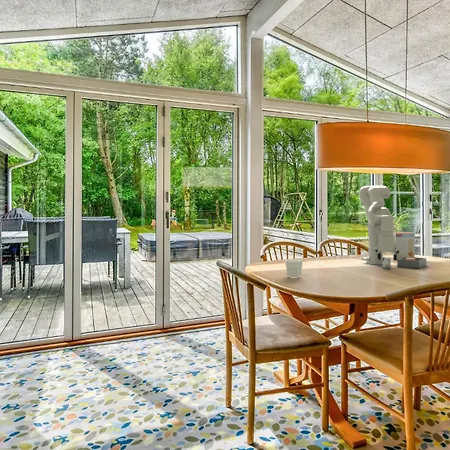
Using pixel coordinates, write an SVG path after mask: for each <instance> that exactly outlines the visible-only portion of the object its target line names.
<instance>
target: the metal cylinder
mask: <svg viewBox="0 0 450 450" xmlns="http://www.w3.org/2000/svg"><path fill="white" fill-rule="evenodd" d="M391 263H392V259H391V257H385V256H383V262H382V264H381V265H382V266H381V267H382V269H384V270H391V265H392V264H391Z"/></svg>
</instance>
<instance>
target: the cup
mask: <svg viewBox="0 0 450 450" xmlns="http://www.w3.org/2000/svg"><path fill="white" fill-rule="evenodd" d="M284 260H285V267H286V277H287V276H290V277H299V276H301V277H302V271H303V270H302V269H303V260H302V259H299V258H298V259H296V258H294V259H293V258H290V259H284Z"/></svg>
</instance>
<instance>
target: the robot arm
mask: <svg viewBox="0 0 450 450" xmlns="http://www.w3.org/2000/svg"><path fill="white" fill-rule="evenodd" d="M358 194H359V198H360V201H361V203H362V205H363V206H364V211H365V214H366V217H367V219H368V222H367V232H368V255H367V257H361V260H362V261H365V263H366V264H369V265H377V266H378V265H379V266H381V265H382V262H383V257H384V256H383V255H384V252H392V254H393V253H394V255H392V257H393V258H392V260H393V261H394V262H395V261H396V262H397V260H396V259H397V254H398V253H399V252H400V250H401V248H400V247H399V246H397V245H396V242H395V237H394V236H393V232H394V231H395V230H394V229H395V223H394V216H393V215H392V213H391V211H390V209H389V208H387V207H384V206H385V205H386V203H385V200H384V199H389V198H390V196H391V190H390V187H388V186H385V185H365V186H362V187H361V188H360V189H359V193H358ZM396 248H398V251H397V252H396V251H395V250H396Z"/></svg>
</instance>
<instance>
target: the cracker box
mask: <svg viewBox="0 0 450 450" xmlns="http://www.w3.org/2000/svg"><path fill="white" fill-rule="evenodd" d="M393 236H394V237H395V242H396V245H397V246H399V247H400V248H401V250H400V252H399V253H398V254H397V259H400V258H403V257H416V256H415V254H416V253H415V249H416V248H415V246H416V241H415V239H416V232H413V231H409V232H408V231H397V232H395V231H393ZM395 251H396V252H397V251H398V248H396V250H395ZM392 254H393V255H394V253H393V252H392ZM393 255H392V256H393ZM397 259H396V261H397Z"/></svg>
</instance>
